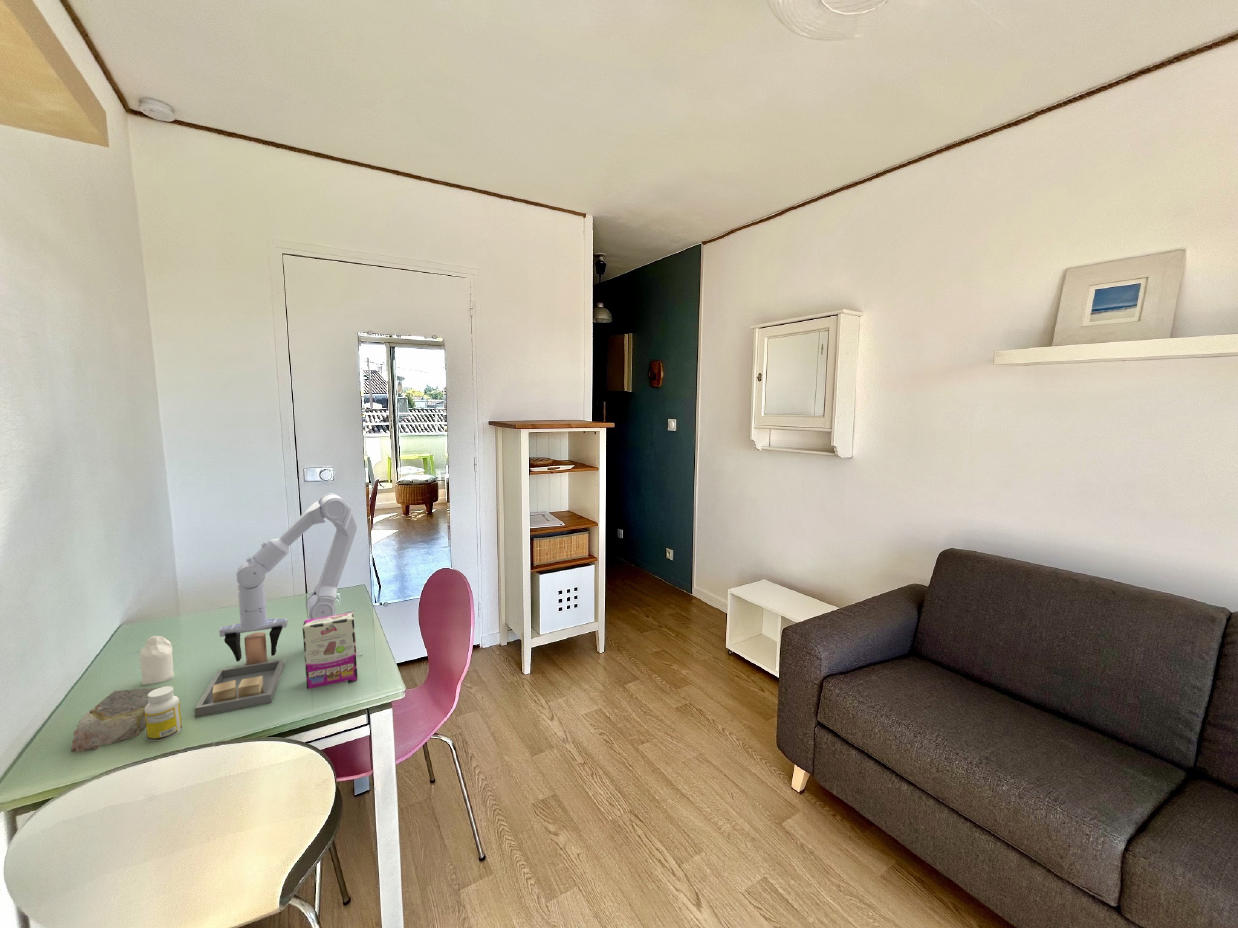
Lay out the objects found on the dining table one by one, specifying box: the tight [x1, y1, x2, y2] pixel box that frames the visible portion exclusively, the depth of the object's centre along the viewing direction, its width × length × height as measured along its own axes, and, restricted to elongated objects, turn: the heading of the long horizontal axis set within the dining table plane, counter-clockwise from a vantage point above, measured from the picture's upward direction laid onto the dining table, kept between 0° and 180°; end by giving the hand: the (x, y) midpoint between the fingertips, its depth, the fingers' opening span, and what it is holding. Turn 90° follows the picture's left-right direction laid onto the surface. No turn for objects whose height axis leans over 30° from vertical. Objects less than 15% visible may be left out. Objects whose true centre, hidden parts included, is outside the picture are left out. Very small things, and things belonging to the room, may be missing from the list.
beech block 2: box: [238, 676, 264, 698], centre depth 120 cm, size 4×4×4 cm
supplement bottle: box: [145, 685, 183, 742], centre depth 106 cm, size 5×5×10 cm
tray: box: [194, 658, 286, 718], centre depth 123 cm, size 14×18×3 cm
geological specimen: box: [70, 686, 162, 752], centre depth 110 cm, size 11×6×15 cm
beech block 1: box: [212, 680, 237, 703], centre depth 117 cm, size 4×4×4 cm
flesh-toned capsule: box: [244, 631, 268, 665], centre depth 135 cm, size 5×5×8 cm
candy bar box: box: [302, 611, 359, 690], centre depth 128 cm, size 11×5×16 cm, turn 117°
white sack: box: [139, 635, 175, 686], centre depth 127 cm, size 6×12×6 cm
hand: (256, 656), depth 136 cm, fingers open, 7 cm apart
